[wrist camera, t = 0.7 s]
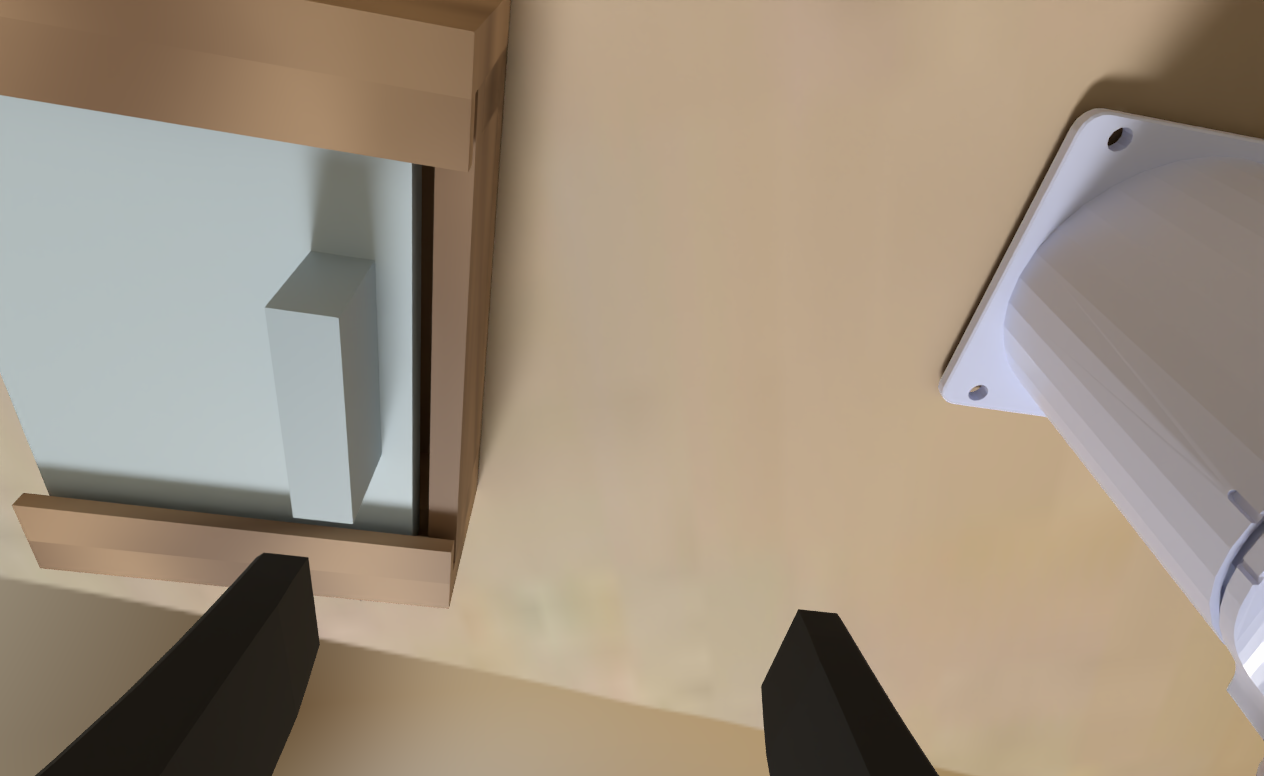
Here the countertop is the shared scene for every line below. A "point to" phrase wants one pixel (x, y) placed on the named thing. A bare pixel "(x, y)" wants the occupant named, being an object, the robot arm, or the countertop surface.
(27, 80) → the box
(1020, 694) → the countertop surface
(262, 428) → the lid
